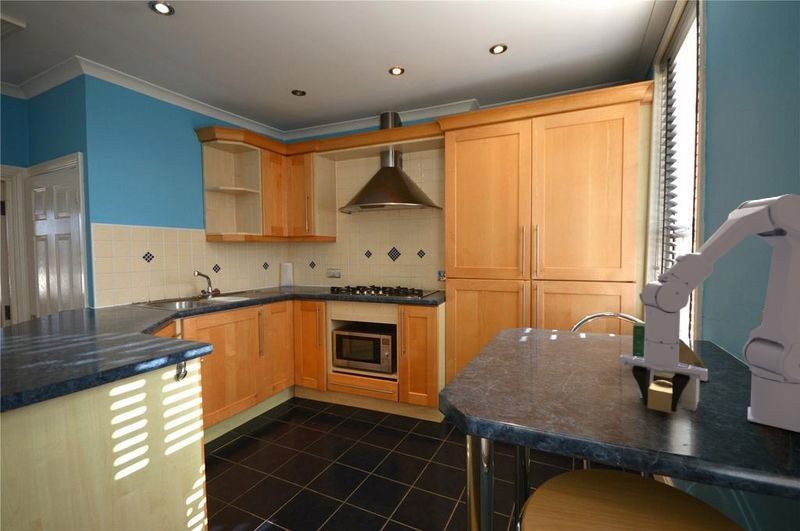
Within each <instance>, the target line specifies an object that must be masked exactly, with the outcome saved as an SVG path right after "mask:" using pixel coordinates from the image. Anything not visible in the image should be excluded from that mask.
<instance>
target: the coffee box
mask: <svg viewBox="0 0 800 531" xmlns="http://www.w3.org/2000/svg"><path fill="white" fill-rule="evenodd" d="M644 352H645V322H641V321H640V322H639V321H635V322H634V324H633V325H632V356H637V357H644ZM633 368H634V367H631V372H632V371H633Z"/></svg>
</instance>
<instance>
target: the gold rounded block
mask: <svg viewBox="0 0 800 531" xmlns="http://www.w3.org/2000/svg"><path fill="white" fill-rule="evenodd" d="M679 401H680V399H679ZM678 403H679V402H678ZM671 404H672V378H667V377H663V378H661V379H660V380H657V381H654V382H652V383H651V384H650V386H649V388H648V406H647V407H646V408H647V409H652V410H655V411H661V412H665V413H668V414H672V413H673V412H671Z"/></svg>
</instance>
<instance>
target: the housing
mask: <svg viewBox="0 0 800 531" xmlns="http://www.w3.org/2000/svg"><path fill="white" fill-rule="evenodd" d="M674 375H675V374H669V373H664V372H658V371H653V370H651V372H650V383H649V386H650V384H651V383H652V382H654V381H657V380H660V379H661V378H663V377H667V378H673V376H674ZM700 382H701V380H699V379H696V378H690V380H689V382H688V384H687V385H686V387H685V388H684V390H683V392H682V394H681V396H680V401H679V403H678V407H677V408H679V407H681V408H680V409H683V408H685V409H684V410H689V411H693V412H696V410H697V408H698V406H697V405H699V403H698V402H700ZM640 398H642V394H641V391H640V390H639V399H640Z"/></svg>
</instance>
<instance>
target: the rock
mask: <svg viewBox="0 0 800 531" xmlns="http://www.w3.org/2000/svg"><path fill="white" fill-rule="evenodd" d="M679 363H682V364H687V365H691V366H695V367H700V368H705V369H707V368H706V366H705V365H704V364H705V363H704V362H703V361H702V360H701V358H700V357H699V356H698V355H697V353H696V352H695V351H694V350H693V349H692V348H691V347H689V345H687V343H685V341H684V340H682V339H681V338H679ZM708 381H710V376H709V375H708V379H707V381H706V382H708Z"/></svg>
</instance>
